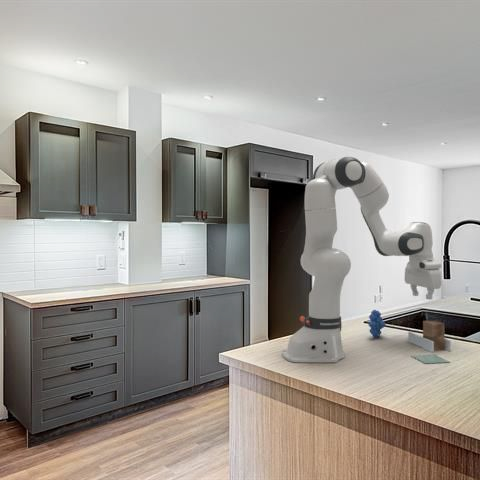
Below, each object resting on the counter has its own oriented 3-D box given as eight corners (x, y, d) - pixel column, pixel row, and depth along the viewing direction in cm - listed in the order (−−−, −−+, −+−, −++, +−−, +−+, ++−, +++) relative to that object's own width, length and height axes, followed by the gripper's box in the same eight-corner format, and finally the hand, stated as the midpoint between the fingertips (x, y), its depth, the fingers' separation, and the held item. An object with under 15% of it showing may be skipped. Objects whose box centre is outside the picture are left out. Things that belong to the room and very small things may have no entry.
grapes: (381, 342, 176) (381, 312, 175) (364, 339, 180) (364, 310, 179) (390, 336, 185) (390, 308, 185) (374, 334, 189) (374, 306, 189)
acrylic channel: (432, 352, 160) (432, 341, 160) (408, 341, 176) (408, 331, 176) (451, 351, 161) (451, 340, 161) (425, 340, 177) (425, 330, 177)
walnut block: (432, 350, 162) (432, 324, 162) (422, 346, 168) (423, 321, 168) (444, 350, 163) (444, 323, 163) (434, 346, 169) (434, 320, 169)
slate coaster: (425, 364, 146) (425, 363, 146) (410, 356, 155) (410, 355, 155) (449, 362, 147) (449, 361, 147) (433, 355, 156) (433, 354, 156)
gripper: (400, 261, 182) (401, 294, 183) (428, 265, 162) (429, 301, 162) (413, 260, 183) (414, 293, 184) (444, 264, 163) (445, 300, 163)
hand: (422, 297), depth 173 cm, fingers open, 8 cm apart
